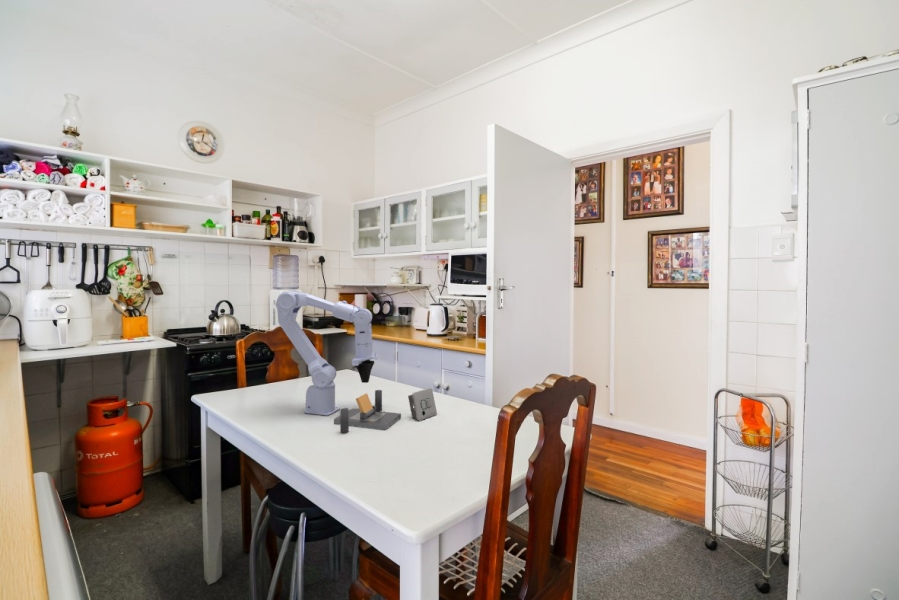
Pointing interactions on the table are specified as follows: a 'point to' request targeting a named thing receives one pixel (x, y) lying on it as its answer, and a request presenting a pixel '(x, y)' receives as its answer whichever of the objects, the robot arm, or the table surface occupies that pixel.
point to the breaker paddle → (365, 405)
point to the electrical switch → (422, 404)
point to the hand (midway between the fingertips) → (365, 382)
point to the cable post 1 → (344, 420)
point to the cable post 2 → (378, 400)
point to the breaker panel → (371, 419)
